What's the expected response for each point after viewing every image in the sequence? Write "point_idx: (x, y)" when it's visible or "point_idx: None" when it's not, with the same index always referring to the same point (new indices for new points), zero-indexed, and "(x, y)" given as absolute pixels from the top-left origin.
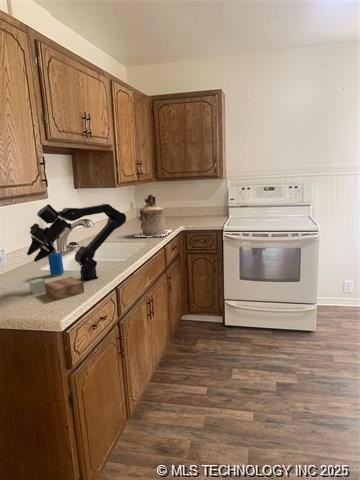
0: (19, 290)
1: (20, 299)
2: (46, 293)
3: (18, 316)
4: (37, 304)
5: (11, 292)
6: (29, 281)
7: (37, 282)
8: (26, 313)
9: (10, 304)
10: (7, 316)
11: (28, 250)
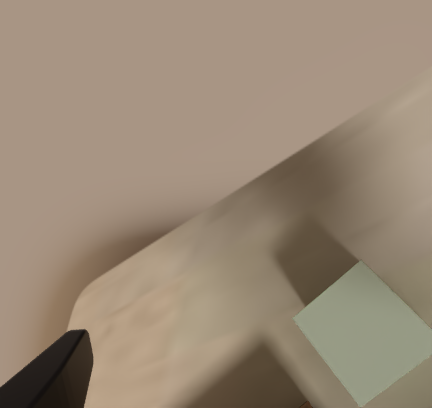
0: (399, 178)
1: (236, 266)
2: (301, 406)
3: None
4: (156, 387)
5: (361, 149)
6: (354, 266)
7: (316, 349)
8: None
9: (184, 247)
10: (83, 296)
11: (11, 382)
